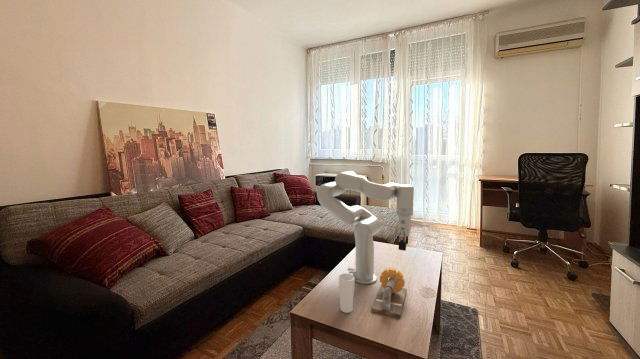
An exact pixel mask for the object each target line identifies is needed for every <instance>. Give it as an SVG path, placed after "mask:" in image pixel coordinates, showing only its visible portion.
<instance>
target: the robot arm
mask: <svg viewBox="0 0 640 359" xmlns="http://www.w3.org/2000/svg"><path fill="white" fill-rule="evenodd" d="M348 190H349V191H353V192H357V193H360V194H362V195H364V196H365V197H367V198H370V199H373V200H376V201H377V200H378V201H382V202H387V201H389V200H391V199H395V198H396V203H395V204H396V208H395V209H396V211H395V212H396V213H395V214H396V215H397V216H398V217H397V218H398V221H397V223H398V224H397V225H398V226H397V235H398V236H399V239H398V250H399V251H407V245H408V244H409V237H410V235H411V231H412V226H411V225H412V224H411V223H412V216H413V215H414V193H415V189H414V186H413V185H411V184H408V183H407V184H401V183H396V182H388V183H384V184H380V183H375V182H371V181H369V180H368V178H367V177H366V176H364V175H361V174H357V173H356V172H354V171H352V170H346V171H341V172H338V173H337V174H336V176H335V178H334V181H330V182H326V183H323V184H321V185H319V186H318V187H317V190H316V198H317V201H318V202H319V204H320V205H321V206H322V208H323V209H326V211H328V212H330V213H331V214H332V215H333V216H334V217H335V218H337V219H338V220H340V222H342V223H343V224H344V225H346V226H347V227H348V226H349V227H350V226H353V225H355V226H354V229H353V234H354V241H355V242H354V243H355V267H354V268H352V267H348V268H347V271H348V274H351V275H353V276H354V279H355V283H358V284H361V285H370V284H374V283H376V281H377V274H375V266H374V264H375V244H374V238H373V236H375V235H376V234H377V233H379V232H380V230H381V227H382V223H381V220H379V219H378V217H377V216H375V215H373V214H372V213H371V212H370V211H368V210H367V209H366V208H365V207H363V206H360V205H358V204H355V205H351V206H349V205H347V204H345V202H344V201H342V200H340V199H338V198H335V197H338V196H340V195H342V194H344V193H345V192H346V191H348Z"/></svg>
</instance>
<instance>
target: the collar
mask: <svg viewBox="0 0 640 359" xmlns="http://www.w3.org/2000/svg"><path fill="white" fill-rule="evenodd" d="M390 277H393V278H394V279H395V280H396V283H395V284H394V287H393V291H392V293H395V291H397V292H400V291H401V290H402V289H403V288H404V287H405V286H406V285H405V281H406V280H405V279H406V278H404V275H403V273H402V272H401V271H400V270H397V268H394V267H389V268H385V269H384V270H382V271H381V274H380V275H379V283H380V287H381V286H382V287H383V288H384V289H385V287H386V286H387V283H388V280H389V278H390Z"/></svg>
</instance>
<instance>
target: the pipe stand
mask: <svg viewBox="0 0 640 359" xmlns="http://www.w3.org/2000/svg"><path fill="white" fill-rule="evenodd" d="M395 283H396V280H395V279H394V278H393V277H389V278H388V283H387V286H386V287H385V289H384V288H383V287H382V286H381V285H380V286H379V289H378V292H377V294H376V296H375V298H374V299H373V300H374V301H373V303H372V306H371V308H370V311H371V312H372V313H375V314H381V315H385V316H388V315H389V317H394V318H397V319H401V317H402V312H403V308H404V305H405V304H404V303H405V299H406V296H407V288H404V287H403V289H402V290H401V291H400V292H397V291H395V293H392V291H393V287H394V284H395Z"/></svg>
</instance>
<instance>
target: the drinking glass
mask: <svg viewBox="0 0 640 359" xmlns="http://www.w3.org/2000/svg"><path fill="white" fill-rule="evenodd" d="M355 283H356V281H355V279H354V276H353V274H352V273H340V275H339V276H338V294H339V305H340V306H339V309H340V311H341V312H342V313H345V314H350V313H352V312H353V310H354V309H353V308H354V298H355V297H354V295H355V286H356V284H355Z"/></svg>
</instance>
